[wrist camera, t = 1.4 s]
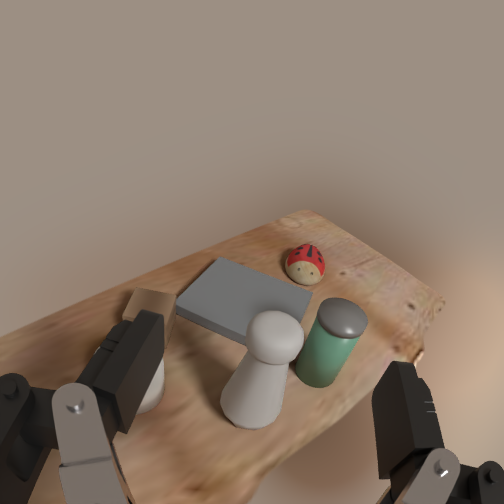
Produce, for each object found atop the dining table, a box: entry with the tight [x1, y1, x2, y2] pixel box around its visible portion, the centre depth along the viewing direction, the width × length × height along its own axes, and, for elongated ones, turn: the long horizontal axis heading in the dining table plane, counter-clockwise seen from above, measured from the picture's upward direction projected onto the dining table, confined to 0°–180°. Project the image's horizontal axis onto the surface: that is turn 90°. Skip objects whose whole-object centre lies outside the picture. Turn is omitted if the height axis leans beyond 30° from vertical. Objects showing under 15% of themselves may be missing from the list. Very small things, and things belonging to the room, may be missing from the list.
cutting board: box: [176, 257, 313, 346], centre depth 43 cm, size 15×13×2 cm
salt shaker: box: [220, 311, 304, 430], centre depth 26 cm, size 6×6×13 cm
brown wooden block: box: [122, 287, 176, 348], centre depth 35 cm, size 5×5×4 cm
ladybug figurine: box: [285, 244, 325, 285], centre depth 53 cm, size 7×10×4 cm
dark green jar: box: [295, 298, 368, 388], centre depth 33 cm, size 5×5×9 cm
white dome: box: [94, 347, 165, 414], centre depth 28 cm, size 7×7×4 cm
